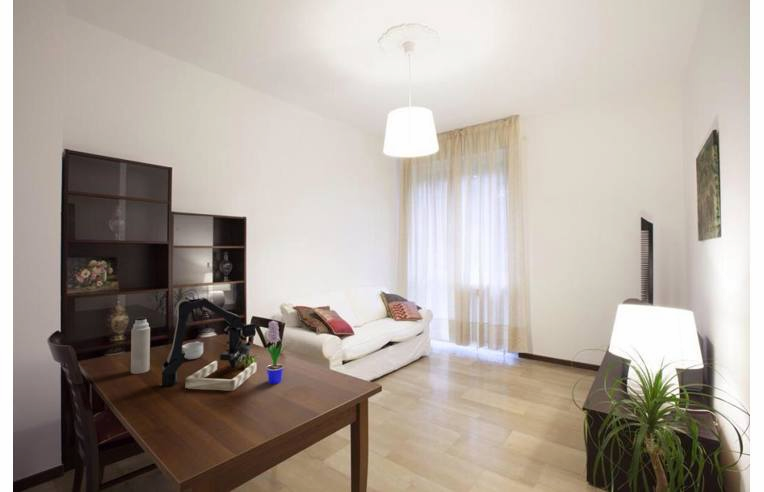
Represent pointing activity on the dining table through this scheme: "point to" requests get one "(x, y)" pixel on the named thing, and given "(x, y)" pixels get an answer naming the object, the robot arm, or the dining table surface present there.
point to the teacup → (193, 350)
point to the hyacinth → (274, 355)
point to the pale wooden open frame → (201, 382)
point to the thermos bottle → (140, 346)
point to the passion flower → (246, 359)
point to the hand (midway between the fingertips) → (233, 368)
